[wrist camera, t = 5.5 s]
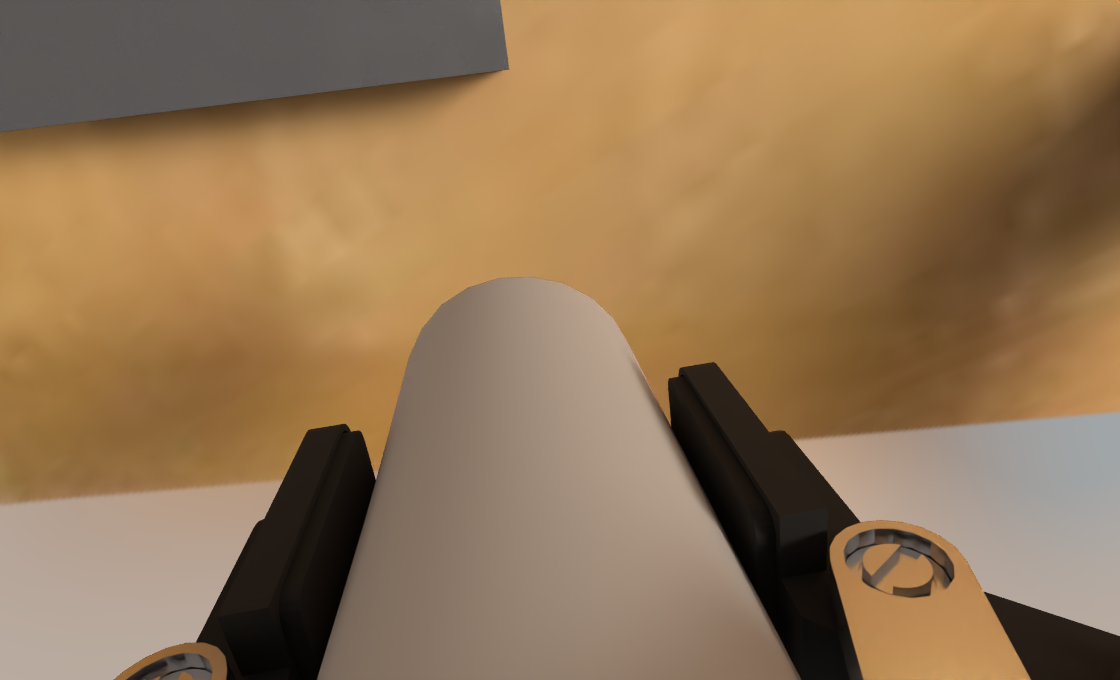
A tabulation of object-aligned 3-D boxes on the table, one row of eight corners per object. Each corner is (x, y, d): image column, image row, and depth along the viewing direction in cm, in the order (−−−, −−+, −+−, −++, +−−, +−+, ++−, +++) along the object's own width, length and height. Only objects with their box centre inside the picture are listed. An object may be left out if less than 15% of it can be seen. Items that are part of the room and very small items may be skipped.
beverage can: (672, 385, 15) (1190, 1273, 4) (505, 509, 16) (548, 1542, 5) (534, 219, 13) (773, 950, 2) (355, 365, 14) (-119, 1447, 3)
